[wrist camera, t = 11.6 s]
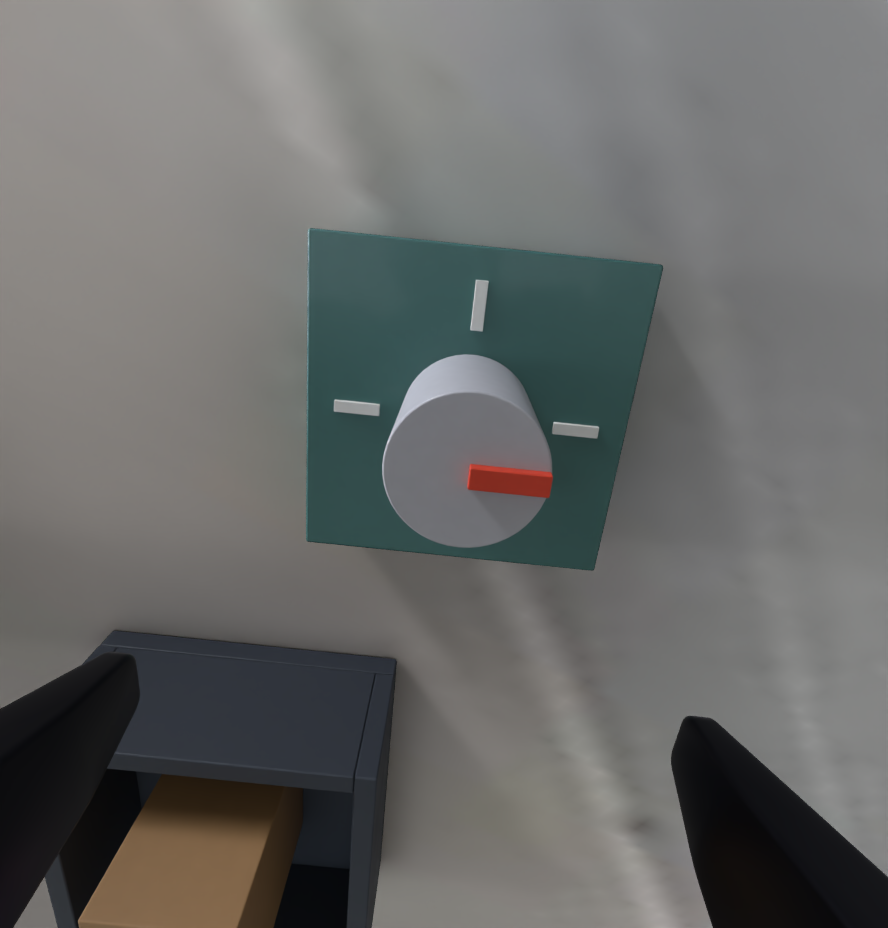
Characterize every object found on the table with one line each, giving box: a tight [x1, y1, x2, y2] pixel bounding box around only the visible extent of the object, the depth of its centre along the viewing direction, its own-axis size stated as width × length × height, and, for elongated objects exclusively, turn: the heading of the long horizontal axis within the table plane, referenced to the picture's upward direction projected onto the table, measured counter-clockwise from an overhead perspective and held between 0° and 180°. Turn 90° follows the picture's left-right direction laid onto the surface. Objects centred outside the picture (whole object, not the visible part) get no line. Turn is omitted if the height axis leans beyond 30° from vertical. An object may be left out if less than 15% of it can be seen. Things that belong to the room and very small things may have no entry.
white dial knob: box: [382, 354, 553, 548], centre depth 15 cm, size 4×4×5 cm
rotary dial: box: [306, 228, 663, 571], centre depth 19 cm, size 10×10×3 cm
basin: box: [45, 631, 397, 928], centre depth 24 cm, size 13×14×6 cm
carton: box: [78, 774, 303, 928], centre depth 22 cm, size 5×6×8 cm
